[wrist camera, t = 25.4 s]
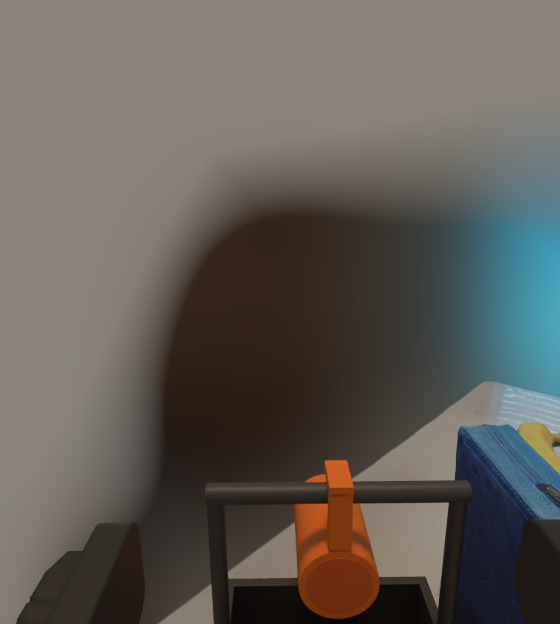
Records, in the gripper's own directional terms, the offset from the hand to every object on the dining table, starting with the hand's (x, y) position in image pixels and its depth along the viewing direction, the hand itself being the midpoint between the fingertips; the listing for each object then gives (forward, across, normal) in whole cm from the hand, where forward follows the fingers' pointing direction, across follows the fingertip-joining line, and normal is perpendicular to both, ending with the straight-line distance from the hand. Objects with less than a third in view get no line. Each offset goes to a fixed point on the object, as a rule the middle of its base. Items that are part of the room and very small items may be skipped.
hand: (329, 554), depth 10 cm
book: (+21, -17, +32) cm, 42 cm away
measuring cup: (+27, -3, +17) cm, 32 cm away
